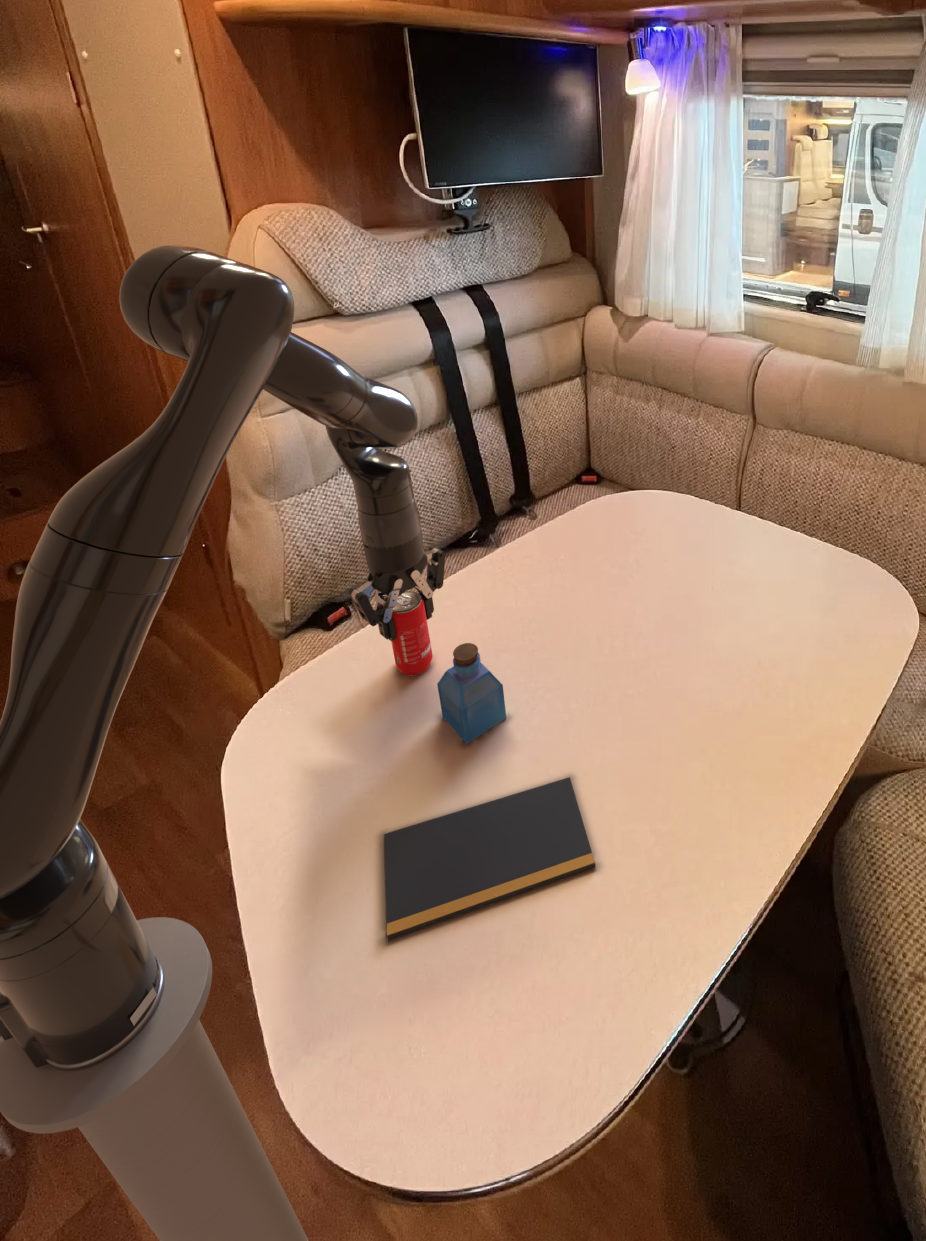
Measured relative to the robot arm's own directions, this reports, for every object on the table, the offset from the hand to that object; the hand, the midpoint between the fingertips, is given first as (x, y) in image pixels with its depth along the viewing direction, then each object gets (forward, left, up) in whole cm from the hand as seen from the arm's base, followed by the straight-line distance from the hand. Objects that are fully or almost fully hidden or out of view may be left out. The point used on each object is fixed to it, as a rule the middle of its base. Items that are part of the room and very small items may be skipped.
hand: (408, 626), depth 105 cm
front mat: (+6, -33, -7) cm, 34 cm away
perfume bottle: (+7, -13, -8) cm, 17 cm away
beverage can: (0, 0, -8) cm, 8 cm away
